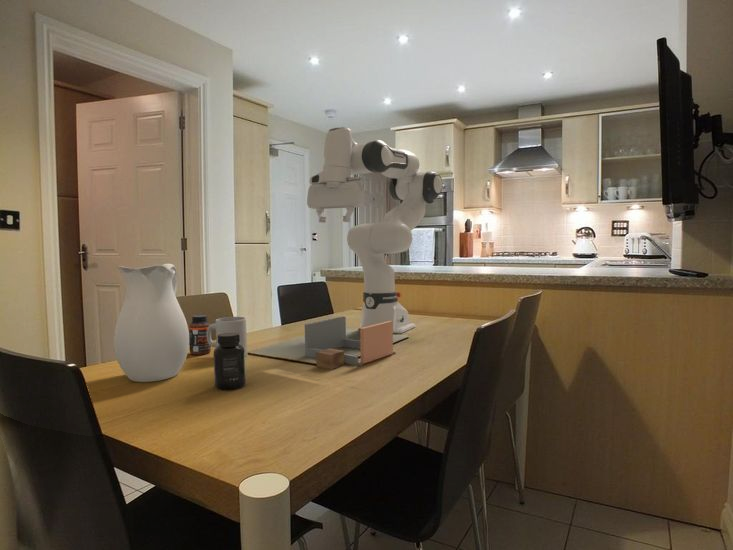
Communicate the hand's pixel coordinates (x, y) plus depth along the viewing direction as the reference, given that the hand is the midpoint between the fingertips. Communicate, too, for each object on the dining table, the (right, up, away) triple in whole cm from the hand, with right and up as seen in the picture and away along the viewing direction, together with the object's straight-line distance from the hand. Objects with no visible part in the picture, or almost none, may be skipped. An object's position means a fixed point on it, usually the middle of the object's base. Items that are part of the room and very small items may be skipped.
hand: (334, 222), depth 150 cm
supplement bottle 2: (-21, -42, -42) cm, 63 cm away
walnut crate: (+1, -41, -30) cm, 51 cm away
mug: (-30, -41, -13) cm, 52 cm away
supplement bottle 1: (-39, -40, -8) cm, 57 cm away
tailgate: (+13, -39, -24) cm, 48 cm away
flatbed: (+5, -40, -18) cm, 44 cm away
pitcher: (-42, -42, -29) cm, 66 cm away
